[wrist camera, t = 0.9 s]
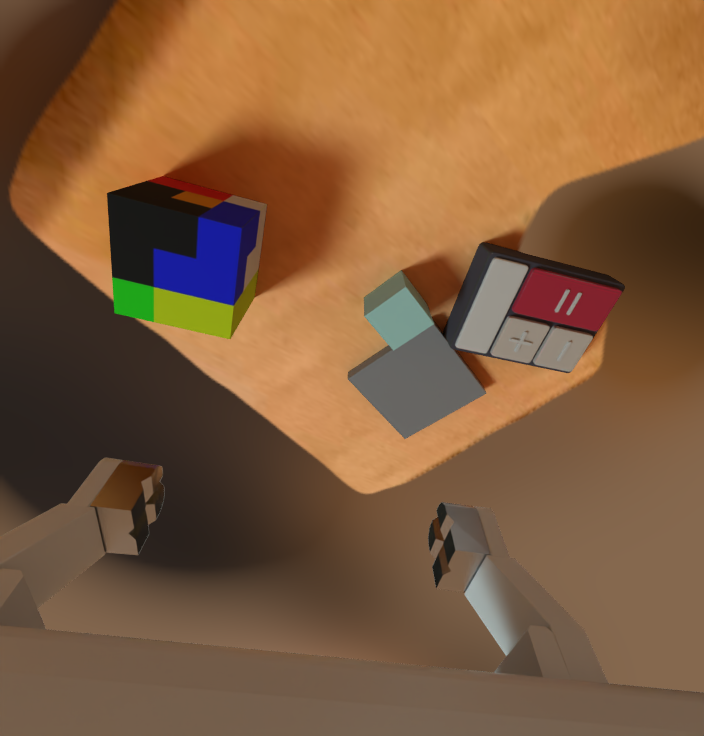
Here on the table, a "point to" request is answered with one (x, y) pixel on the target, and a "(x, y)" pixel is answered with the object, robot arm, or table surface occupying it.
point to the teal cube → (397, 311)
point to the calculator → (529, 309)
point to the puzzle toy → (184, 254)
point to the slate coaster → (417, 382)
